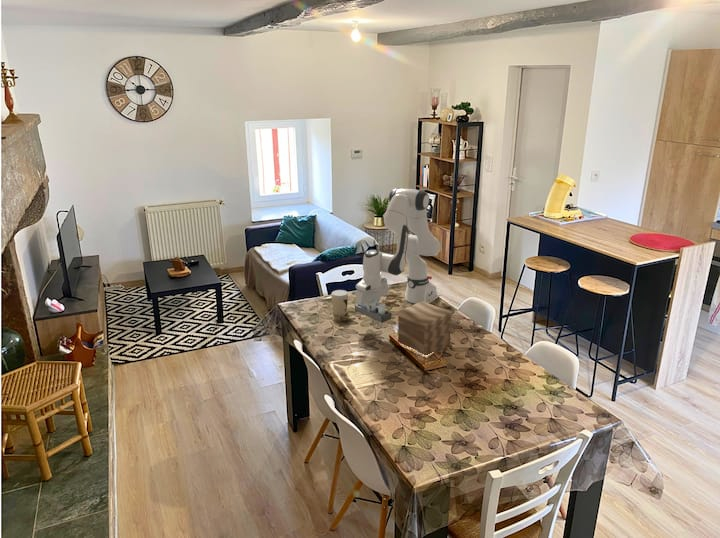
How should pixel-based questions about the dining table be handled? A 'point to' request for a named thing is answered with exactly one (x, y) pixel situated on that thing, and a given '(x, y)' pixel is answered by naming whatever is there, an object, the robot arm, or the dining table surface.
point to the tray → (373, 315)
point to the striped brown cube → (424, 327)
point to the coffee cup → (339, 302)
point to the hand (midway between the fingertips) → (372, 307)
